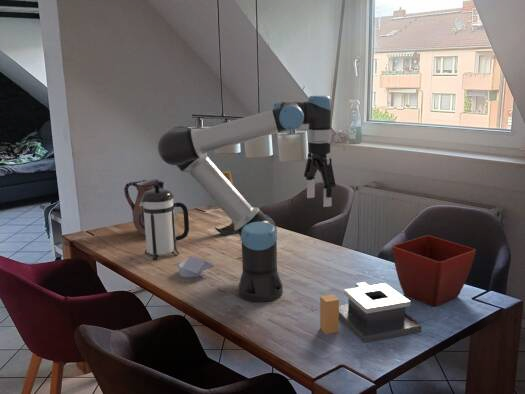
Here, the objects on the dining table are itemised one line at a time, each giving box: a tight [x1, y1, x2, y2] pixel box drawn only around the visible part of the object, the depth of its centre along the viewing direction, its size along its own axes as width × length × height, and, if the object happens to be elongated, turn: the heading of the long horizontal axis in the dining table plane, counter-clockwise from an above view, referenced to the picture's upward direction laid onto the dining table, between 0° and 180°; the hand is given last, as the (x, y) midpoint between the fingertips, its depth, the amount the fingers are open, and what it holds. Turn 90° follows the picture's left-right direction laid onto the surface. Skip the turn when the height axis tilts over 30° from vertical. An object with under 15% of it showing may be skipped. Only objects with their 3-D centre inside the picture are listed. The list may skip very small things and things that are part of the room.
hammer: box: [214, 170, 239, 237], centre depth 242 cm, size 20×5×30 cm, turn 121°
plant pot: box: [391, 235, 477, 307], centre depth 171 cm, size 19×19×17 cm
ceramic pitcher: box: [123, 178, 165, 236], centre depth 245 cm, size 18×21×25 cm
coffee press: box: [139, 184, 190, 261], centre depth 216 cm, size 17×16×30 cm
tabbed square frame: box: [339, 281, 422, 343], centre depth 156 cm, size 18×20×8 cm
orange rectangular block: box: [319, 293, 340, 335], centre depth 151 cm, size 4×4×10 cm
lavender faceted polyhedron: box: [178, 255, 215, 278], centre depth 196 cm, size 9×7×13 cm
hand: (318, 201), depth 185 cm, fingers open, 13 cm apart
